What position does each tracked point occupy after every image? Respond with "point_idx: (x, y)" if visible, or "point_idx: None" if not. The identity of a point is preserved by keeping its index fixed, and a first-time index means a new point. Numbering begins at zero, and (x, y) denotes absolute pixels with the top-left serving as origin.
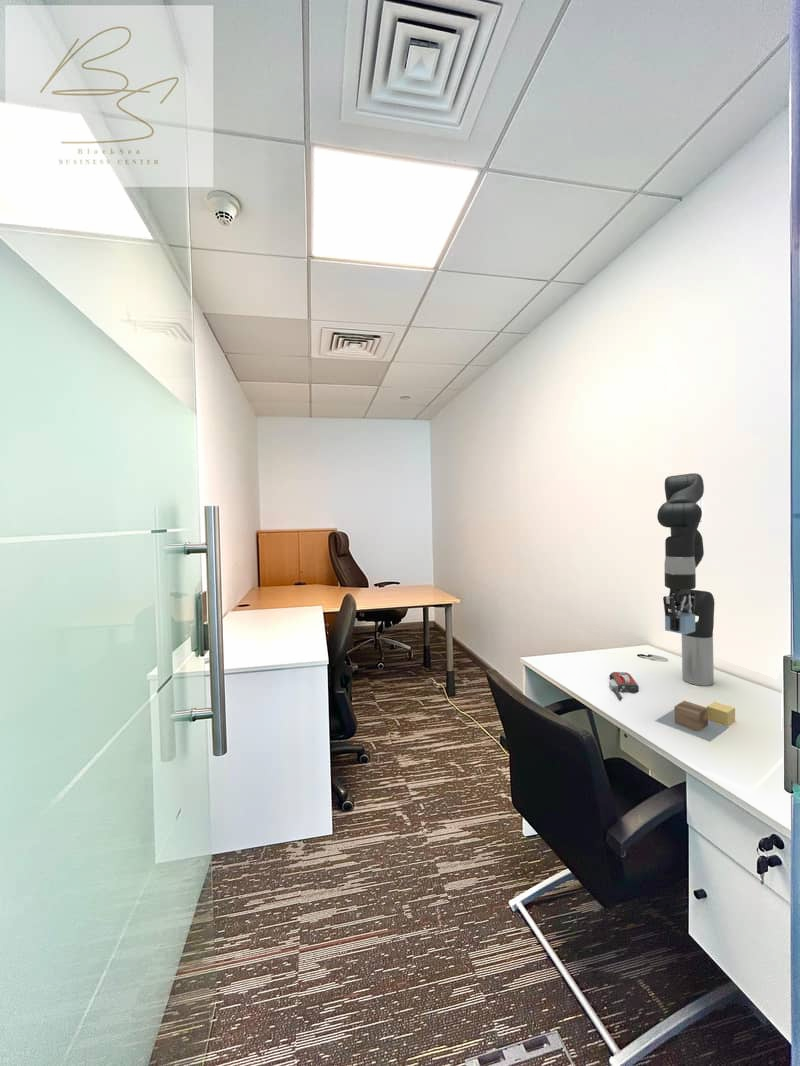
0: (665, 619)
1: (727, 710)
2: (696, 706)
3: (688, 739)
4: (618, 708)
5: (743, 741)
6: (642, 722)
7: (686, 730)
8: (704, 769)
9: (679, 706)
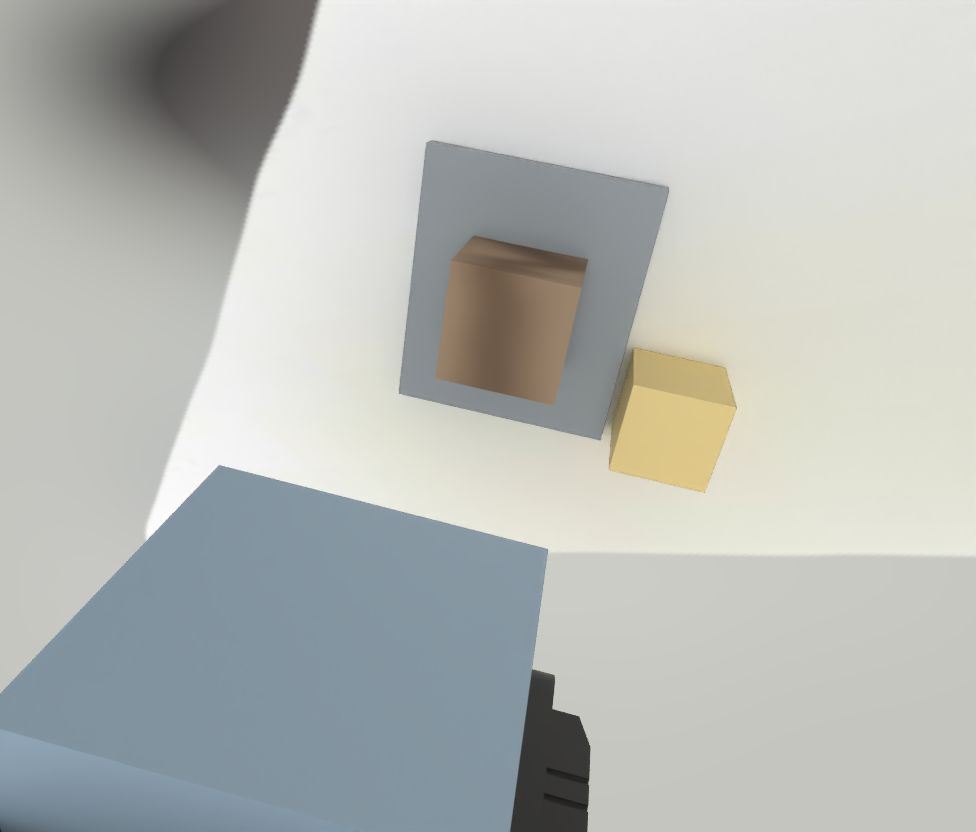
0: (84, 611)
1: (640, 468)
2: (535, 357)
3: (389, 309)
4: None
5: (533, 479)
6: (400, 75)
7: (431, 298)
8: (210, 393)
9: (469, 284)
